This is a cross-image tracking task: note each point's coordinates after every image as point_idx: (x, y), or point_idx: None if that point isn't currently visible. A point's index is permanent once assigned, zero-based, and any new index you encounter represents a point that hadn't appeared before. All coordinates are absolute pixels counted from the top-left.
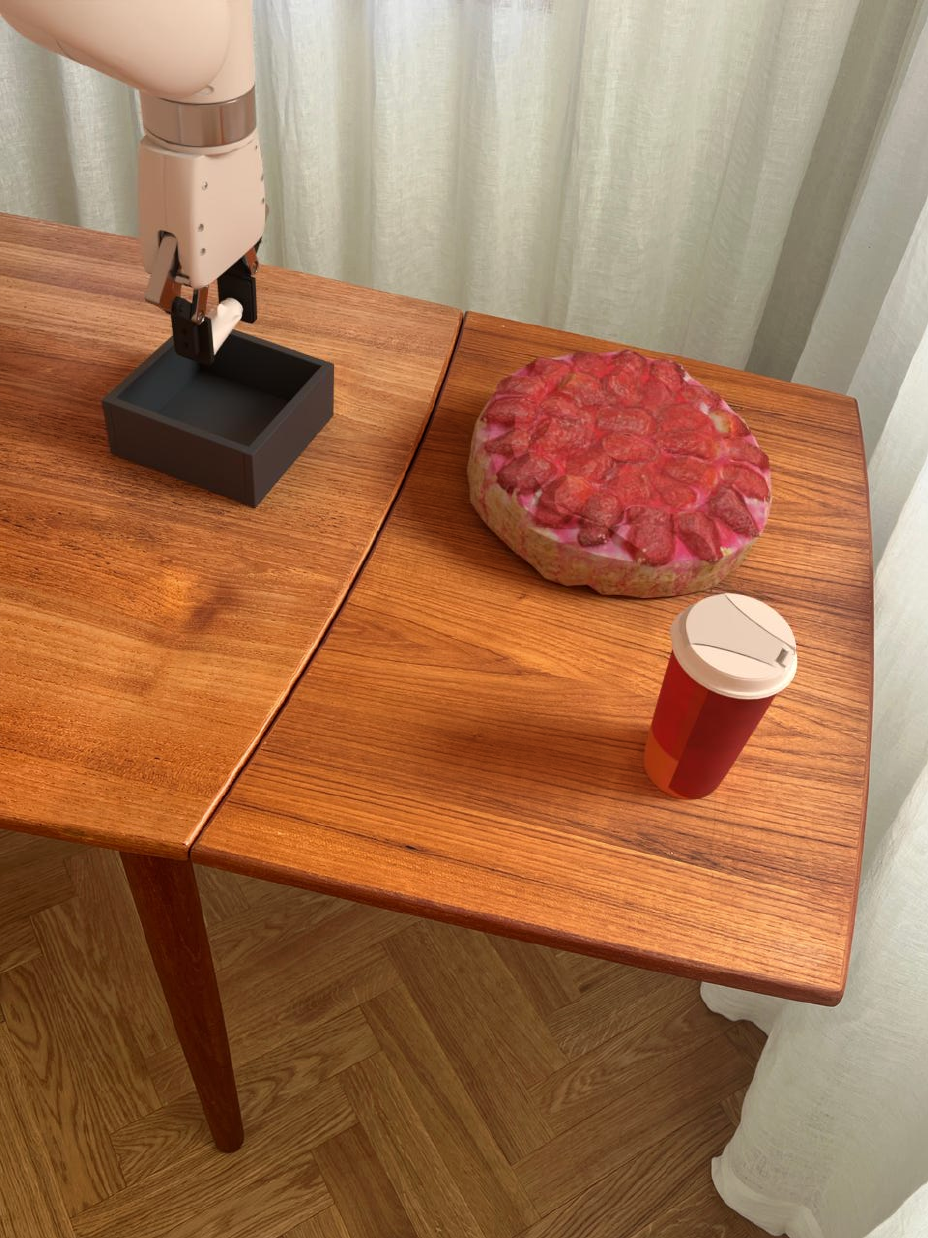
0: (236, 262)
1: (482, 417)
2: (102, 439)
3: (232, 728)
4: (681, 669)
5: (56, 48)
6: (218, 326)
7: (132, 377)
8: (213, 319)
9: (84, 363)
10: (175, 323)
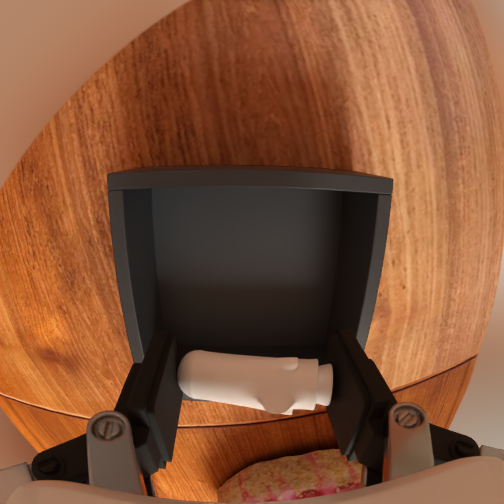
0: (377, 457)
1: (304, 493)
2: (159, 141)
3: (22, 392)
4: None
5: None
6: (237, 403)
7: (181, 180)
8: (248, 394)
9: (286, 35)
10: (116, 409)
